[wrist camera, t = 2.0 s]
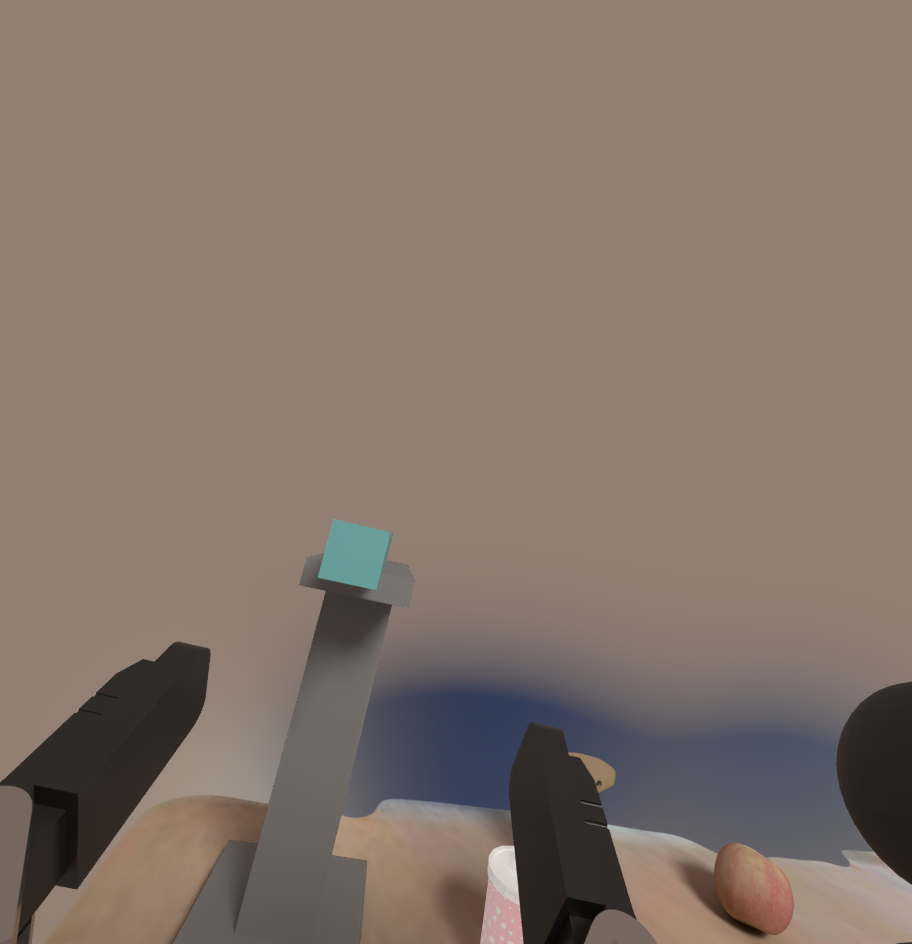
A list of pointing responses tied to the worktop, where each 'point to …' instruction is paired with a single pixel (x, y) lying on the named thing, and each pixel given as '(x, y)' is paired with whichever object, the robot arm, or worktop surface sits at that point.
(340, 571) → the teal bar
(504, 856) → the beverage cup
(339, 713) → the gray stand
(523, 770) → the robot arm
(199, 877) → the worktop surface
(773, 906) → the apple
